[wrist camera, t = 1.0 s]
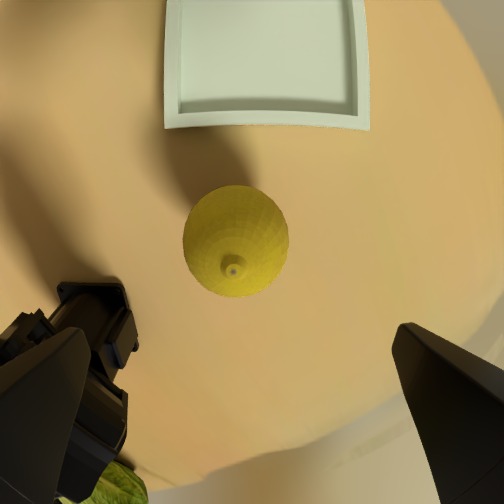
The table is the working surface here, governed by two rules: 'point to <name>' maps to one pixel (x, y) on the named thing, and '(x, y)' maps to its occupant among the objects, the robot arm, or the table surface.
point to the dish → (266, 63)
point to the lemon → (235, 241)
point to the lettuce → (116, 487)
